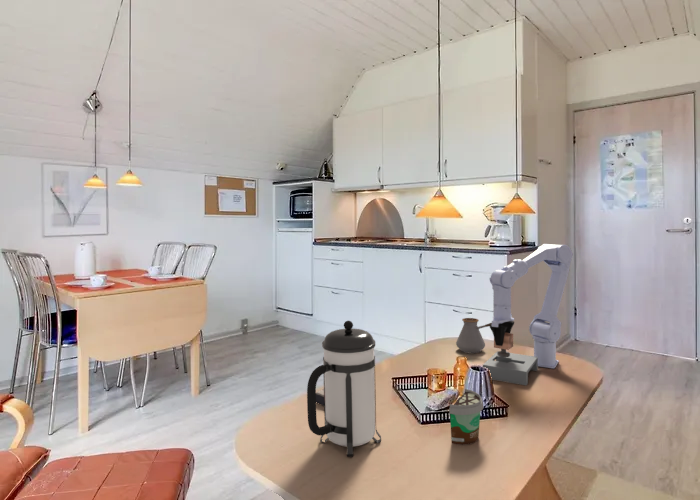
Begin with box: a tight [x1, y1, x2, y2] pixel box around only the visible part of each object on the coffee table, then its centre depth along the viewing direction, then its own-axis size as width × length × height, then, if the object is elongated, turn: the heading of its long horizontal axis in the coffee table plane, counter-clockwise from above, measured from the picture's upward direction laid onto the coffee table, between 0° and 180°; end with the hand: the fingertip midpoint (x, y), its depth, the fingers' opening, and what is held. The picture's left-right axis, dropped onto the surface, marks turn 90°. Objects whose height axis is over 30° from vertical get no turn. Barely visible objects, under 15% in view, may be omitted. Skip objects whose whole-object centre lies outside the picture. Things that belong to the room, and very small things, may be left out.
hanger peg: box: [493, 332, 514, 357], centre depth 156 cm, size 5×5×8 cm
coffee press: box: [306, 320, 382, 458], centre depth 108 cm, size 17×16×30 cm
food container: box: [448, 388, 484, 446], centre depth 110 cm, size 12×6×10 cm, turn 148°
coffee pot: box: [455, 317, 492, 354], centre depth 179 cm, size 21×12×15 cm, turn 39°
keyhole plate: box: [482, 350, 539, 386], centre depth 155 cm, size 18×14×4 cm
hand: (502, 343), depth 156 cm, fingers closed on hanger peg, 5 cm apart
